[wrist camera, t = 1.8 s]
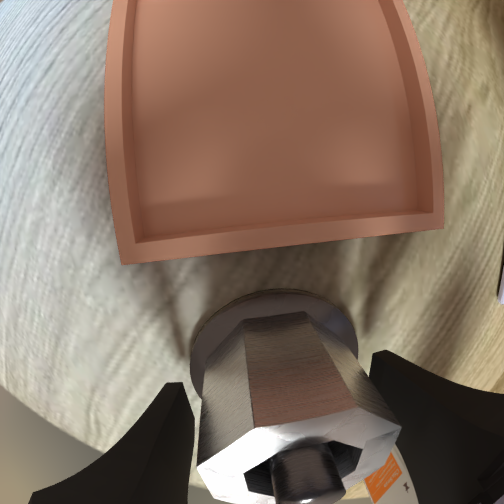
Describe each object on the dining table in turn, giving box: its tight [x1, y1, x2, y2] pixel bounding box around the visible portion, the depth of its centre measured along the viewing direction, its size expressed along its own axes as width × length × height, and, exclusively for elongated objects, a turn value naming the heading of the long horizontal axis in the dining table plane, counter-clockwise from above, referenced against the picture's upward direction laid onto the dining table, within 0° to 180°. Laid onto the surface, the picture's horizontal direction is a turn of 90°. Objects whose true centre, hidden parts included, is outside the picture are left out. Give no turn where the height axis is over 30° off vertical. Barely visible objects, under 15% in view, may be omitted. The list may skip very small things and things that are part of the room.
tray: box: [104, 0, 444, 265], centre depth 7 cm, size 11×11×2 cm
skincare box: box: [363, 444, 419, 504], centre depth 8 cm, size 6×4×12 cm
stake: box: [190, 289, 358, 504], centre depth 8 cm, size 7×7×6 cm
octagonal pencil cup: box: [196, 311, 402, 504], centre depth 8 cm, size 5×5×5 cm
